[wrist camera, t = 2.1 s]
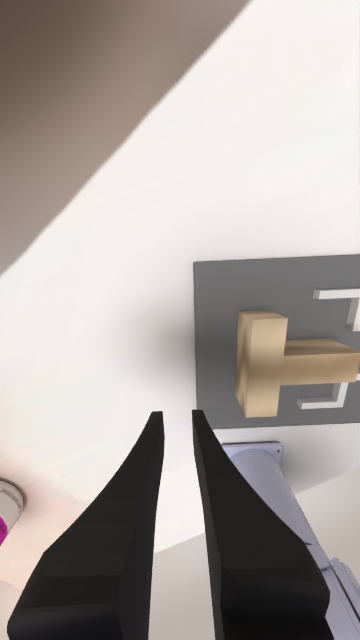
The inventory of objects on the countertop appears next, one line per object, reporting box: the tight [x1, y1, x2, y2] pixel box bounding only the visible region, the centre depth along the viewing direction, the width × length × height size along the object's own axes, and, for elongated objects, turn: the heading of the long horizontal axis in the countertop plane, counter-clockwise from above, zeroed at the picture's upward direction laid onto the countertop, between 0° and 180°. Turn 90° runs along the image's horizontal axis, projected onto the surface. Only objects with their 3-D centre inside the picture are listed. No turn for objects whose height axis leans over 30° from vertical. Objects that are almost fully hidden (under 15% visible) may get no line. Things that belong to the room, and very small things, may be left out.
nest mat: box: [193, 255, 360, 429], centre depth 19 cm, size 20×24×1 cm
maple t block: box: [235, 310, 360, 418], centre depth 18 cm, size 10×10×4 cm
